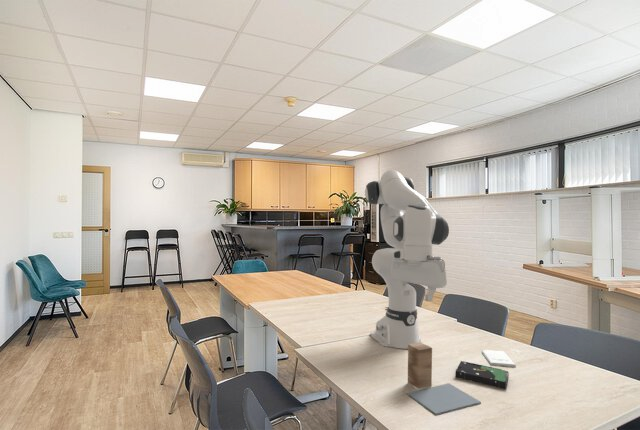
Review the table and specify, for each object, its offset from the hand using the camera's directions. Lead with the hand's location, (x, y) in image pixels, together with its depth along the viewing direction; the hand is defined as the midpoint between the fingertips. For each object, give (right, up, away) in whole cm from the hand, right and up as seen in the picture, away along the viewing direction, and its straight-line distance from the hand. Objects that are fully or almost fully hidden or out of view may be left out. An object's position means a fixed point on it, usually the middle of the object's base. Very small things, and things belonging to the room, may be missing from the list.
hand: (417, 297), depth 114 cm
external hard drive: (+34, -27, +17) cm, 47 cm away
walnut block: (-1, -26, -5) cm, 26 cm away
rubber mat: (+4, -26, -13) cm, 29 cm away
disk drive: (+22, -27, +2) cm, 35 cm away
